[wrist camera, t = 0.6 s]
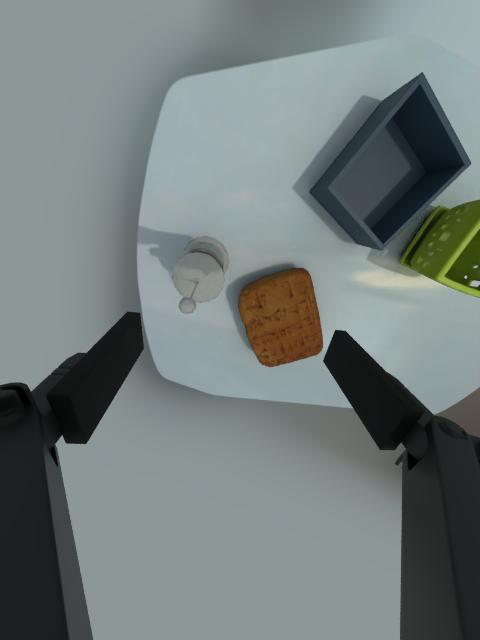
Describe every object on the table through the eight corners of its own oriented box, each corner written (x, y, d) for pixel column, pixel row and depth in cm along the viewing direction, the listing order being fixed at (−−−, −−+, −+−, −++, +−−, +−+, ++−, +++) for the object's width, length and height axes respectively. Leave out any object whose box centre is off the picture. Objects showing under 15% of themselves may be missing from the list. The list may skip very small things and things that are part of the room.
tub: (382, 100, 34) (422, 71, 27) (428, 172, 39) (471, 163, 32) (309, 192, 40) (327, 188, 33) (357, 244, 45) (382, 250, 38)
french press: (236, 249, 44) (245, 287, 22) (215, 295, 49) (205, 366, 27) (192, 227, 42) (152, 246, 20) (174, 278, 46) (126, 341, 24)
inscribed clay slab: (316, 339, 56) (328, 357, 49) (255, 355, 57) (259, 375, 50) (305, 259, 46) (319, 268, 39) (231, 281, 47) (232, 294, 40)
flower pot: (478, 222, 44) (564, 226, 33) (432, 282, 50) (491, 303, 39) (428, 198, 41) (503, 193, 30) (385, 264, 47) (434, 281, 36)
